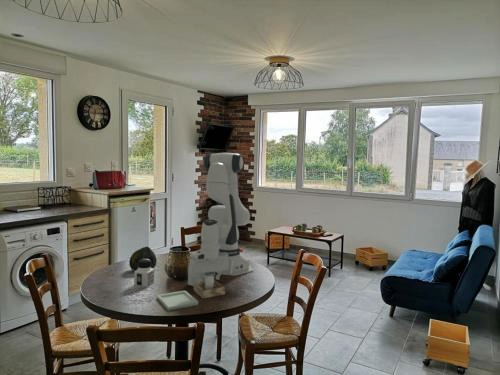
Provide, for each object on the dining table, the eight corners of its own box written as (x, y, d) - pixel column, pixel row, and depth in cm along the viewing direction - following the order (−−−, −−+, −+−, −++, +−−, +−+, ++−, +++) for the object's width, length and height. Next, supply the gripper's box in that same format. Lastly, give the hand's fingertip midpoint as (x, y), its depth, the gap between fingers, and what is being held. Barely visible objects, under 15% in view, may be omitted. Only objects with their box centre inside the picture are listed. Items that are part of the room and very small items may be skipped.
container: (147, 287, 188) (147, 262, 187) (133, 286, 189) (133, 261, 188) (154, 282, 195) (154, 258, 194) (141, 281, 197) (141, 257, 196)
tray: (185, 293, 181) (185, 290, 181) (198, 305, 167) (198, 301, 167) (157, 298, 174) (157, 295, 174) (168, 310, 160) (168, 307, 160)
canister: (211, 290, 187) (211, 270, 186) (215, 293, 182) (216, 273, 182) (202, 291, 184) (203, 272, 183) (206, 294, 180) (207, 274, 179)
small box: (206, 285, 194) (206, 265, 193) (199, 288, 189) (199, 267, 188) (194, 281, 198) (195, 262, 197) (187, 284, 194) (187, 265, 193)
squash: (124, 259, 218) (131, 243, 210) (148, 256, 228) (156, 241, 220) (130, 279, 211) (138, 264, 202) (155, 275, 220) (163, 261, 212)
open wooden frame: (214, 287, 191) (214, 280, 191) (224, 294, 181) (225, 287, 181) (193, 290, 185) (193, 283, 185) (203, 298, 175) (203, 291, 175)
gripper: (225, 249, 190) (224, 276, 190) (187, 253, 179) (187, 281, 180) (231, 252, 184) (230, 279, 185) (192, 256, 174) (192, 285, 174)
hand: (208, 280), depth 182 cm, fingers open, 8 cm apart
